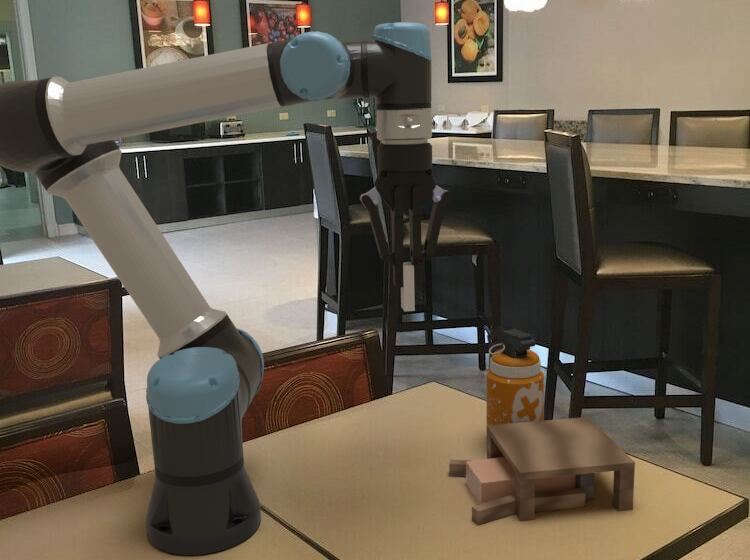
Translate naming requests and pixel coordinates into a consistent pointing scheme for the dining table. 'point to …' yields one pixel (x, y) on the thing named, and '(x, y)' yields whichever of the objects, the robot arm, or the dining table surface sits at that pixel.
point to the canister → (513, 379)
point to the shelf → (552, 466)
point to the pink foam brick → (505, 480)
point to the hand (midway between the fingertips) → (407, 308)
